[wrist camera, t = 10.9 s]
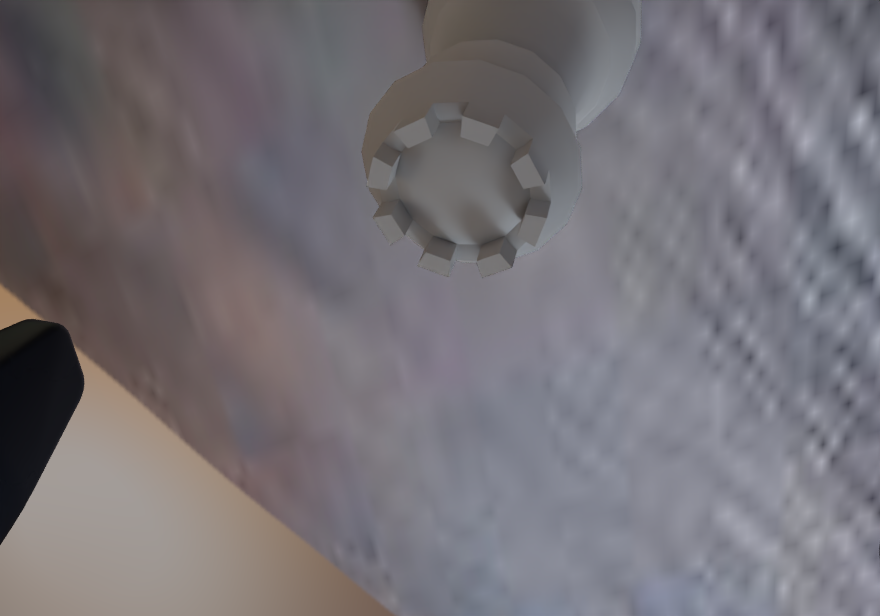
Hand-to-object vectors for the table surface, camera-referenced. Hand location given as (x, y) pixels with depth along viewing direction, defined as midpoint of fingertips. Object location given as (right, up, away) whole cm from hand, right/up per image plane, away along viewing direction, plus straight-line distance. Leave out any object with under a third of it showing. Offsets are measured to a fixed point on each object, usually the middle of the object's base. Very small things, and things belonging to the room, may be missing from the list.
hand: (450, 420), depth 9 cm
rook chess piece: (+2, +7, +9) cm, 12 cm away
